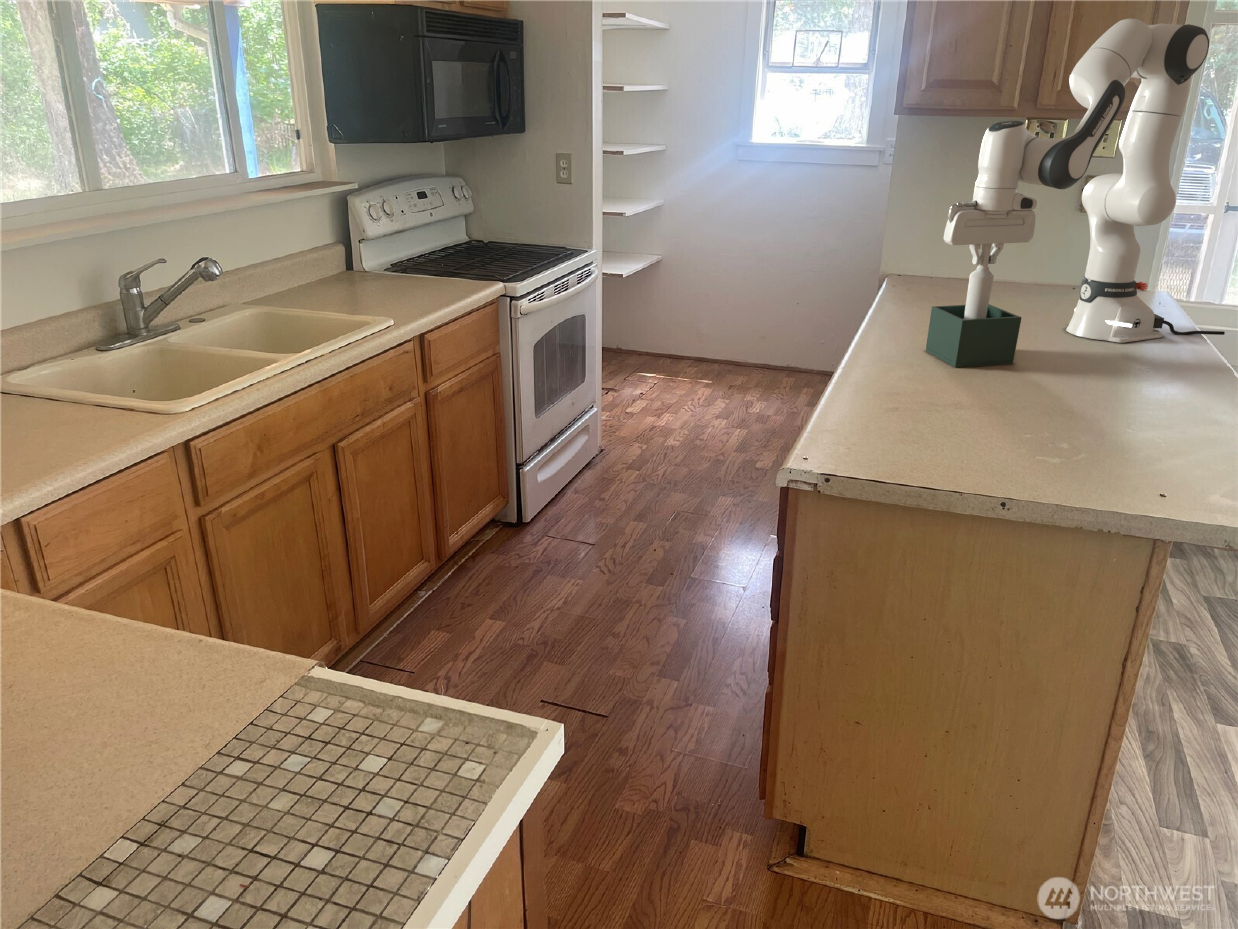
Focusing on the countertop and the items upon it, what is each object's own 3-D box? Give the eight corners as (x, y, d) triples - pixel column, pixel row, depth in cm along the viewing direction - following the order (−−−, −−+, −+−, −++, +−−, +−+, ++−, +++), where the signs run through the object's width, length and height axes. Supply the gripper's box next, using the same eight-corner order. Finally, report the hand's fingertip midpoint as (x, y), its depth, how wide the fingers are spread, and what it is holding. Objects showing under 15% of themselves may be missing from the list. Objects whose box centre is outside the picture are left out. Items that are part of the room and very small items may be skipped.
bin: (980, 347, 213) (987, 303, 209) (1013, 363, 201) (1021, 317, 196) (925, 351, 211) (931, 306, 206) (955, 367, 198) (962, 320, 194)
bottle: (983, 348, 202) (1002, 239, 192) (960, 347, 203) (977, 238, 193) (980, 342, 206) (998, 235, 196) (957, 341, 207) (973, 234, 197)
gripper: (958, 203, 187) (948, 268, 192) (1044, 200, 190) (1032, 264, 196) (943, 199, 192) (934, 262, 198) (1026, 197, 196) (1015, 259, 201)
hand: (983, 263), depth 197 cm, fingers closed on bottle, 2 cm apart
